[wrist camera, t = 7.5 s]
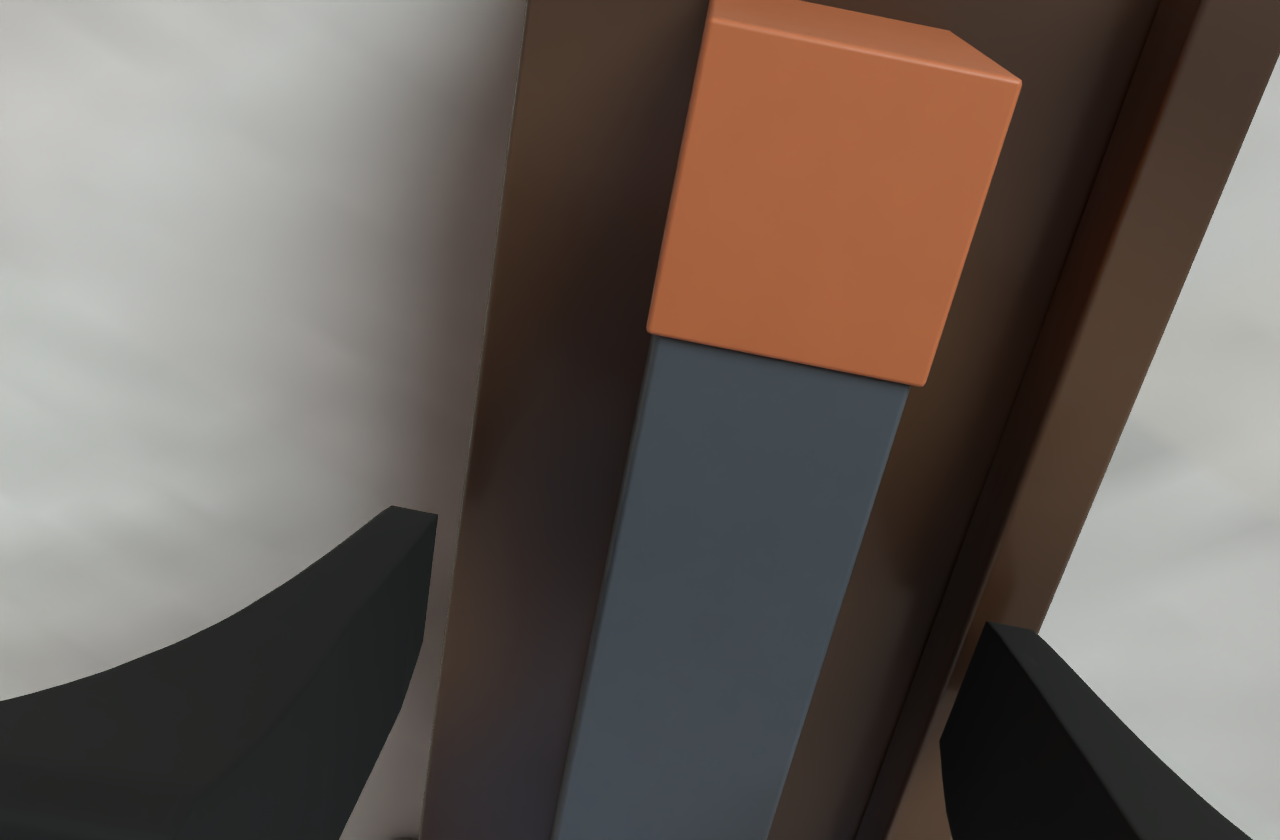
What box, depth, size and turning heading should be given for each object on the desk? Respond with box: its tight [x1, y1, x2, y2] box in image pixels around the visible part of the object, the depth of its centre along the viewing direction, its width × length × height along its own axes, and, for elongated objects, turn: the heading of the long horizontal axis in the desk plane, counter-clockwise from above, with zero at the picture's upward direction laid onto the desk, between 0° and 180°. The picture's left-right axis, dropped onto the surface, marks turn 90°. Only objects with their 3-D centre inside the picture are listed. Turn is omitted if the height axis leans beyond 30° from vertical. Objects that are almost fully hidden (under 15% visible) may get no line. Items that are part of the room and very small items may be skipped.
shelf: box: [418, 0, 1280, 840], centre depth 18 cm, size 18×8×6 cm, turn 170°
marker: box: [550, 0, 1022, 840], centre depth 15 cm, size 15×3×4 cm, turn 170°
